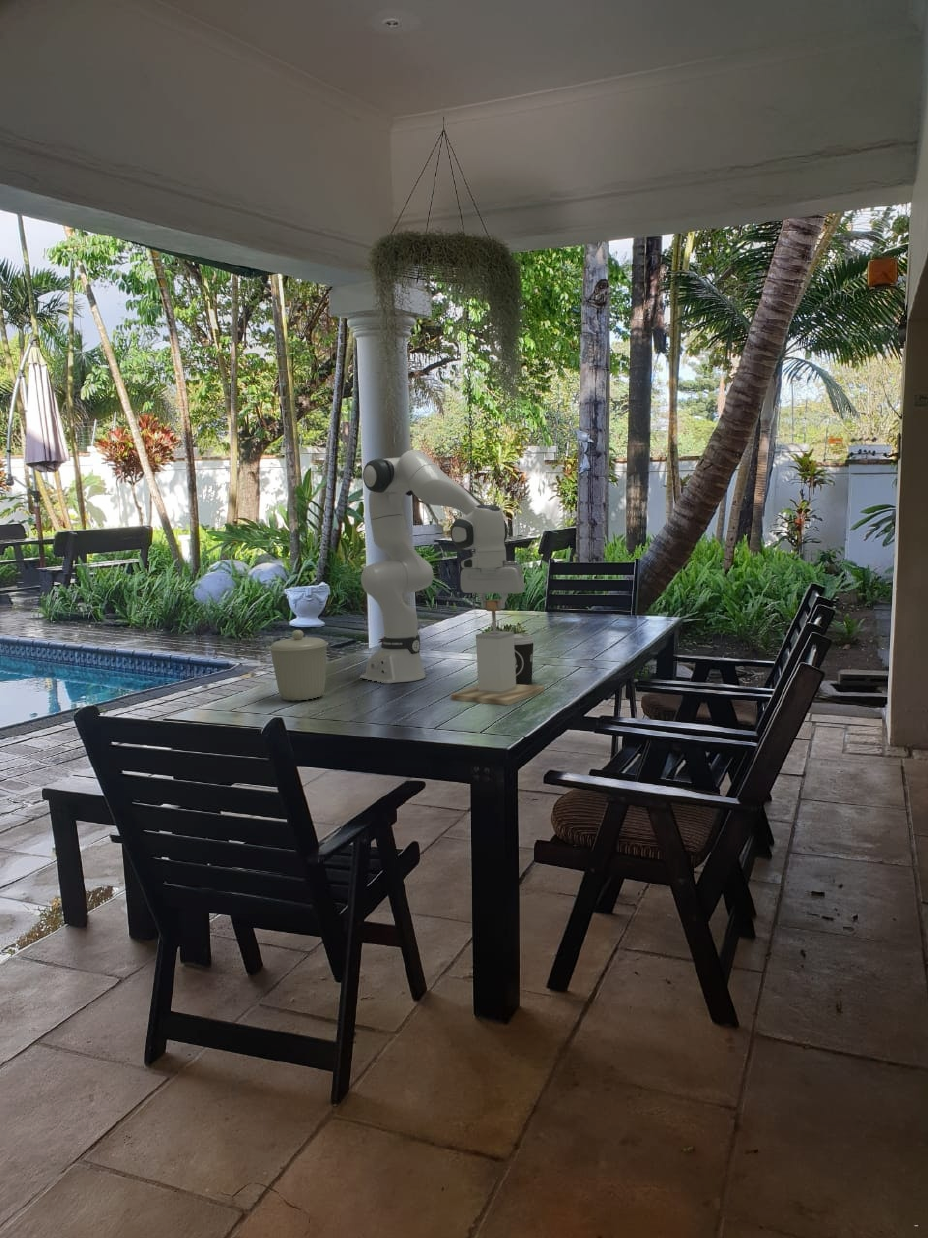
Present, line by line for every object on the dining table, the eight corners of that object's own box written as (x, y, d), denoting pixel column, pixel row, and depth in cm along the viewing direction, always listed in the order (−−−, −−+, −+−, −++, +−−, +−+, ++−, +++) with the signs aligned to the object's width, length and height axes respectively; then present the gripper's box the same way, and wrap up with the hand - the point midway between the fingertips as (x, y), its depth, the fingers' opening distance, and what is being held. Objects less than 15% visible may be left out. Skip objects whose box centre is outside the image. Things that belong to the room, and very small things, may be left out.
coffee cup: (534, 686, 299) (532, 637, 297) (503, 686, 301) (501, 638, 299) (538, 680, 308) (536, 632, 306) (508, 680, 310) (506, 633, 308)
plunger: (482, 670, 286) (479, 601, 284) (493, 667, 291) (490, 598, 288) (499, 672, 283) (495, 601, 280) (510, 668, 288) (506, 599, 285)
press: (478, 692, 287) (475, 634, 285) (498, 685, 296) (495, 629, 293) (501, 694, 282) (498, 636, 280) (520, 687, 291) (518, 630, 289)
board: (450, 699, 286) (450, 694, 286) (488, 686, 302) (488, 681, 302) (508, 705, 274) (507, 700, 274) (544, 691, 290) (544, 686, 290)
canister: (326, 689, 311) (321, 623, 308) (337, 700, 294) (332, 630, 291) (268, 696, 305) (263, 629, 303) (276, 707, 288) (271, 636, 285)
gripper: (527, 559, 279) (529, 607, 281) (468, 560, 291) (471, 606, 293) (515, 561, 274) (518, 610, 276) (456, 562, 286) (459, 609, 288)
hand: (493, 608), depth 285 cm, fingers closed on plunger, 4 cm apart
